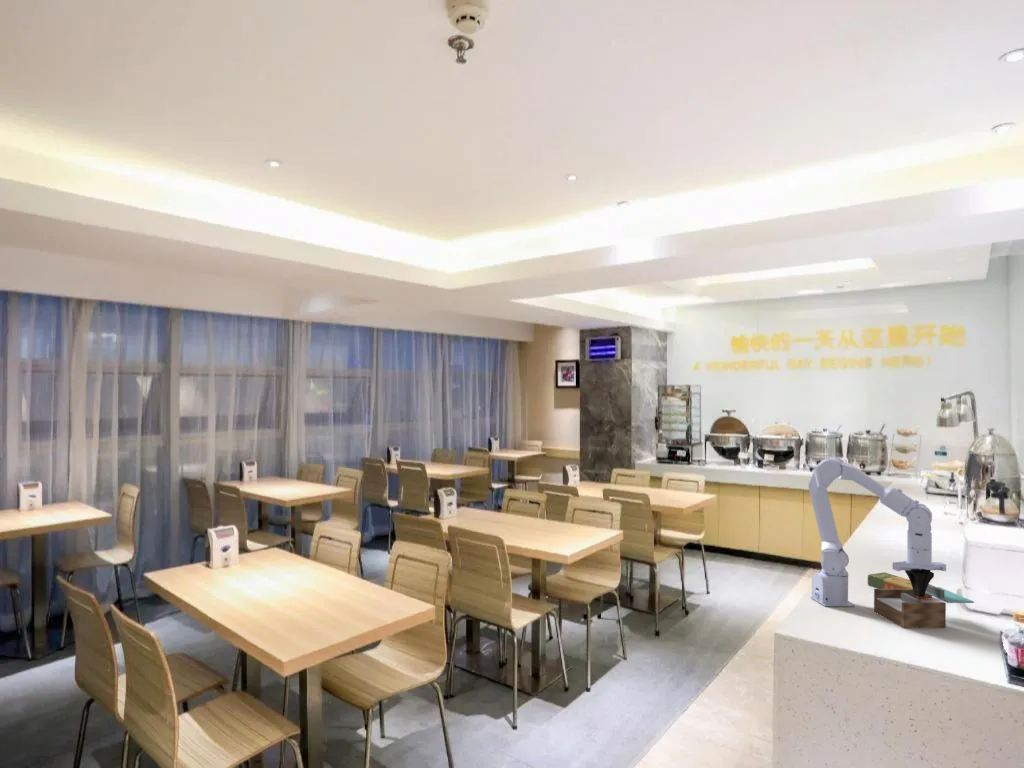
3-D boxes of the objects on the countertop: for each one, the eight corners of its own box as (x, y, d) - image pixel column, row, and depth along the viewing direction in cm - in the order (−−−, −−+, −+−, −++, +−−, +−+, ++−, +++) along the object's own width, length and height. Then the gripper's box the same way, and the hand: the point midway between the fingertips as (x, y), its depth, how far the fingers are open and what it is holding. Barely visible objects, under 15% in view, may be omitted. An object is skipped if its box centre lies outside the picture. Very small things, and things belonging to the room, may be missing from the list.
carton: (914, 602, 182) (914, 588, 182) (866, 586, 197) (866, 573, 197) (932, 599, 185) (932, 585, 185) (884, 583, 200) (884, 571, 200)
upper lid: (948, 602, 161) (948, 594, 161) (915, 588, 173) (915, 580, 173) (973, 602, 162) (973, 594, 162) (939, 588, 173) (939, 580, 174)
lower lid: (900, 611, 161) (900, 602, 161) (876, 599, 171) (876, 590, 171) (926, 611, 162) (926, 602, 162) (900, 599, 172) (901, 590, 172)
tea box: (903, 628, 160) (903, 603, 160) (873, 611, 172) (874, 588, 172) (945, 628, 161) (945, 603, 161) (913, 611, 173) (913, 588, 173)
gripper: (905, 551, 163) (905, 600, 162) (955, 551, 164) (954, 600, 163) (887, 545, 170) (887, 592, 169) (935, 545, 171) (935, 592, 170)
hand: (919, 595), depth 167 cm, fingers closed
